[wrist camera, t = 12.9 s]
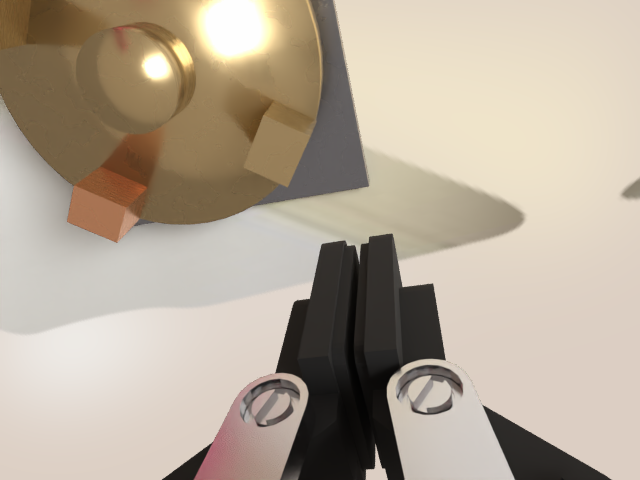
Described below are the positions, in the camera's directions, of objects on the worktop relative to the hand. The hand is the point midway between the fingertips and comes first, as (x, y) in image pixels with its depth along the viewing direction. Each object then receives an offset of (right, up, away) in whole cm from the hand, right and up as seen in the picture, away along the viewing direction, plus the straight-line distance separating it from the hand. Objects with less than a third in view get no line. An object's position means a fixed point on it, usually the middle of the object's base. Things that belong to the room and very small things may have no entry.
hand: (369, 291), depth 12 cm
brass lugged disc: (-12, +13, +22) cm, 28 cm away
